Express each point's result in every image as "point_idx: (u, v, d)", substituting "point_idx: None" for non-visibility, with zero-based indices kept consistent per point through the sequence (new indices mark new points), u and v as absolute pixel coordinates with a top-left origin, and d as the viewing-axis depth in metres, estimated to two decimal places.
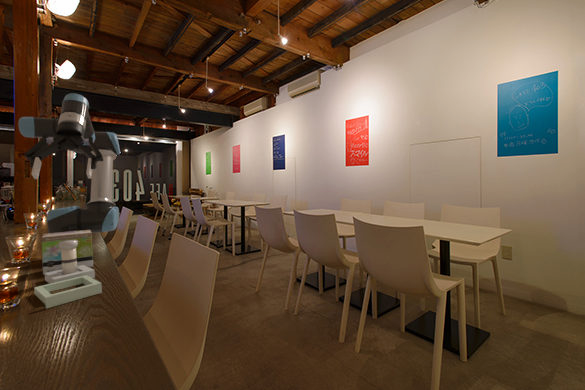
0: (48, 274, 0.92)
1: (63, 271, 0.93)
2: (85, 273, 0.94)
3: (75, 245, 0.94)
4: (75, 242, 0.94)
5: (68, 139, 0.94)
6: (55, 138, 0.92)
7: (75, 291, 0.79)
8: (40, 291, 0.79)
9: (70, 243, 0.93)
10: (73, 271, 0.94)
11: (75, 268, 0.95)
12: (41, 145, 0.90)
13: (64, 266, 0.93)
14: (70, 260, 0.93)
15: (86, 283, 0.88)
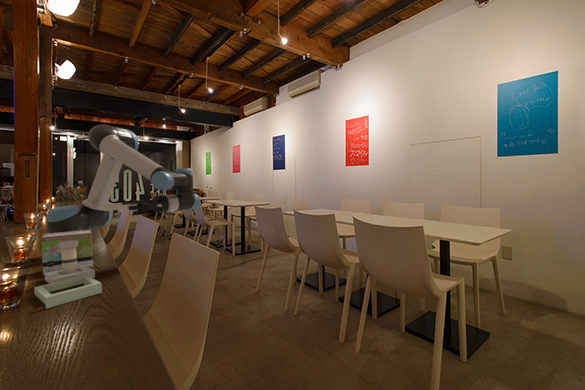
0: (48, 274, 0.92)
1: (63, 271, 0.93)
2: (85, 273, 0.94)
3: (75, 245, 0.94)
4: (75, 242, 0.94)
5: None
6: None
7: (75, 291, 0.79)
8: (40, 291, 0.79)
9: (70, 243, 0.93)
10: (73, 271, 0.94)
11: (75, 268, 0.95)
12: None
13: (64, 265, 0.93)
14: (70, 260, 0.93)
15: (86, 283, 0.88)
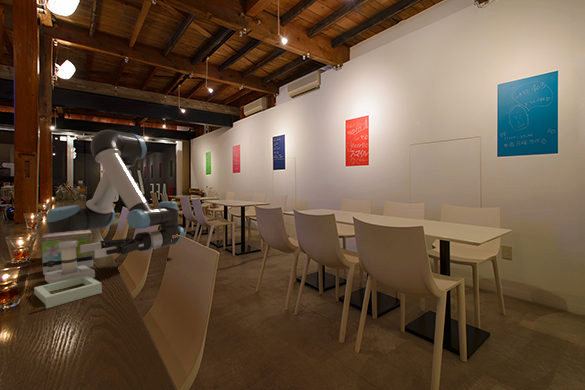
0: (48, 274, 0.92)
1: (63, 271, 0.93)
2: (85, 273, 0.94)
3: (75, 245, 0.94)
4: (75, 242, 0.94)
5: None
6: None
7: (75, 291, 0.79)
8: (40, 291, 0.79)
9: (70, 243, 0.93)
10: (73, 271, 0.94)
11: (75, 268, 0.95)
12: None
13: (64, 266, 0.93)
14: (70, 260, 0.93)
15: (86, 283, 0.88)
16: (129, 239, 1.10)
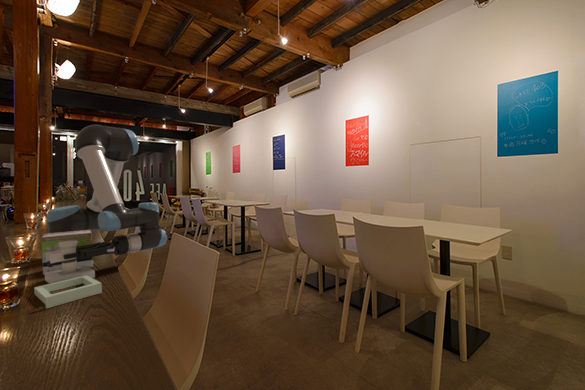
0: (48, 274, 0.92)
1: (63, 271, 0.93)
2: (85, 273, 0.94)
3: (75, 245, 0.94)
4: (75, 242, 0.94)
5: None
6: None
7: (75, 291, 0.79)
8: (40, 291, 0.79)
9: (70, 243, 0.93)
10: (73, 271, 0.94)
11: (75, 268, 0.95)
12: None
13: (64, 266, 0.93)
14: (70, 260, 0.93)
15: (86, 283, 0.88)
16: (106, 242, 1.04)
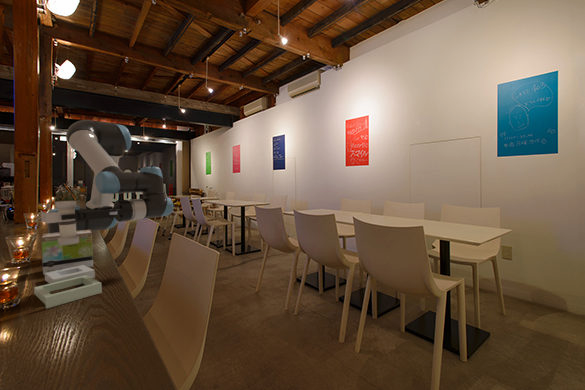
0: (48, 274, 0.92)
1: (61, 234, 0.84)
2: (85, 273, 0.94)
3: (74, 206, 0.85)
4: (74, 202, 0.85)
5: None
6: None
7: (75, 291, 0.79)
8: (40, 291, 0.79)
9: (68, 203, 0.83)
10: (72, 234, 0.85)
11: (74, 231, 0.85)
12: None
13: (61, 228, 0.83)
14: (68, 222, 0.84)
15: (86, 283, 0.88)
16: (107, 207, 0.95)
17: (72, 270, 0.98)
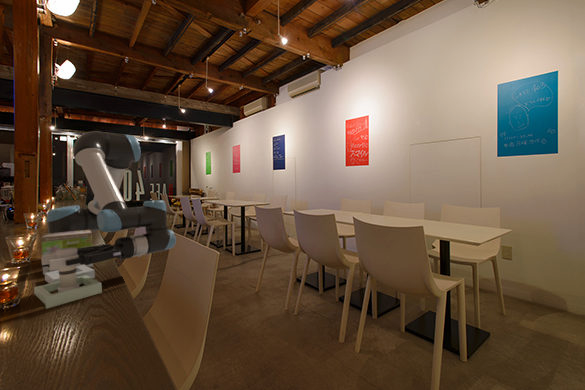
0: (48, 274, 0.92)
1: (61, 284, 0.81)
2: (85, 273, 0.94)
3: (75, 254, 0.83)
4: (75, 251, 0.83)
5: None
6: None
7: (75, 291, 0.79)
8: (40, 291, 0.79)
9: (69, 252, 0.81)
10: (72, 284, 0.82)
11: (74, 280, 0.83)
12: None
13: (62, 278, 0.81)
14: (68, 271, 0.82)
15: (86, 283, 0.88)
16: (108, 245, 0.92)
17: None
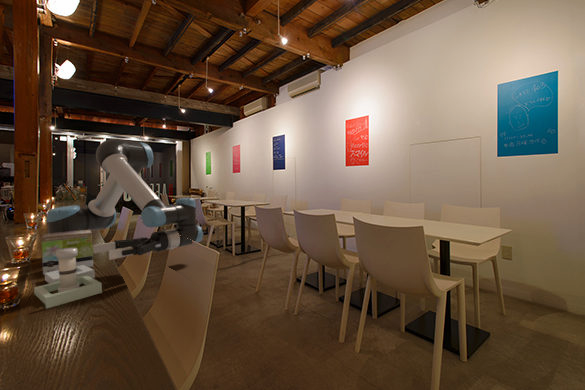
0: (48, 274, 0.92)
1: (61, 284, 0.81)
2: (85, 273, 0.94)
3: (75, 254, 0.83)
4: (75, 251, 0.83)
5: None
6: None
7: (75, 291, 0.79)
8: (40, 291, 0.79)
9: (69, 252, 0.81)
10: (72, 284, 0.82)
11: (74, 280, 0.83)
12: None
13: (62, 277, 0.81)
14: (68, 271, 0.82)
15: (86, 283, 0.88)
16: (145, 239, 1.02)
17: None
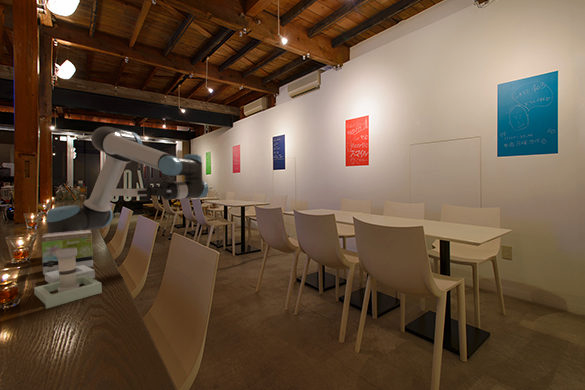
0: (48, 274, 0.92)
1: (61, 284, 0.81)
2: (85, 273, 0.94)
3: (74, 254, 0.83)
4: (74, 250, 0.83)
5: None
6: None
7: (75, 291, 0.79)
8: (40, 291, 0.79)
9: (69, 252, 0.81)
10: (72, 284, 0.82)
11: (74, 280, 0.83)
12: None
13: (62, 278, 0.81)
14: (68, 271, 0.82)
15: (86, 283, 0.88)
16: (156, 187, 1.12)
17: None
